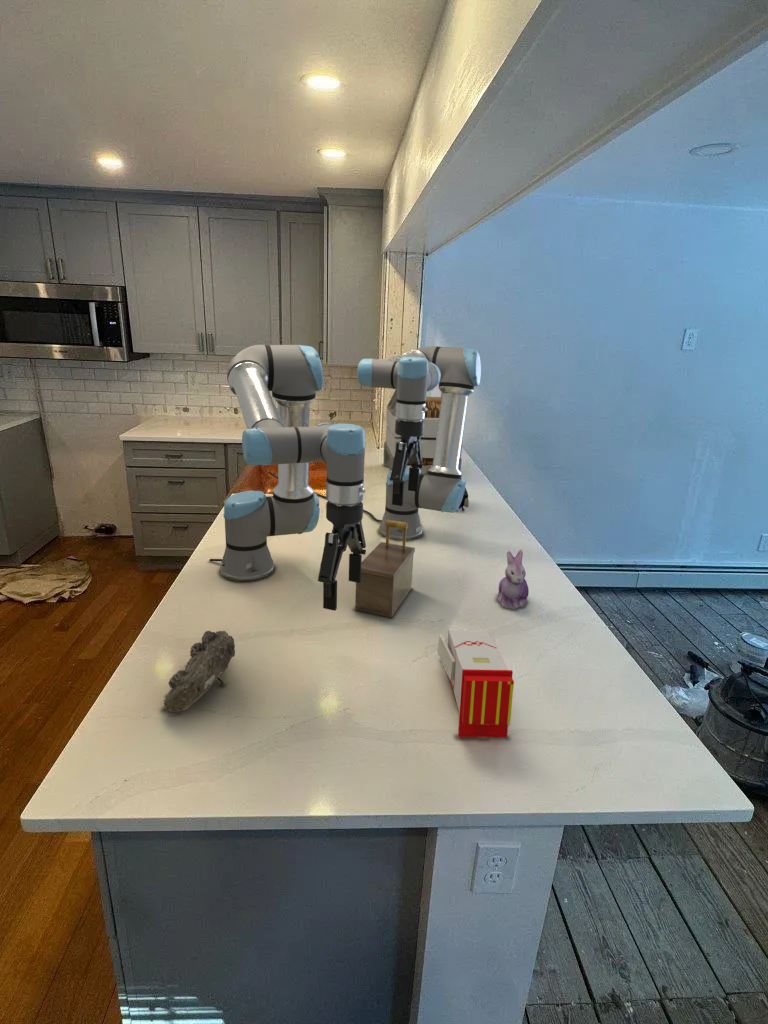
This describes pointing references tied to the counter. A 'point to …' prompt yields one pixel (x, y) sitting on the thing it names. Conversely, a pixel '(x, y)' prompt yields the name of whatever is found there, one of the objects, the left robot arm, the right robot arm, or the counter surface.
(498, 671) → the toy
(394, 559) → the lid
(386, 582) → the chest
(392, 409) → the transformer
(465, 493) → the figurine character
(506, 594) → the figurine
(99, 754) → the counter surface
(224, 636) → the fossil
